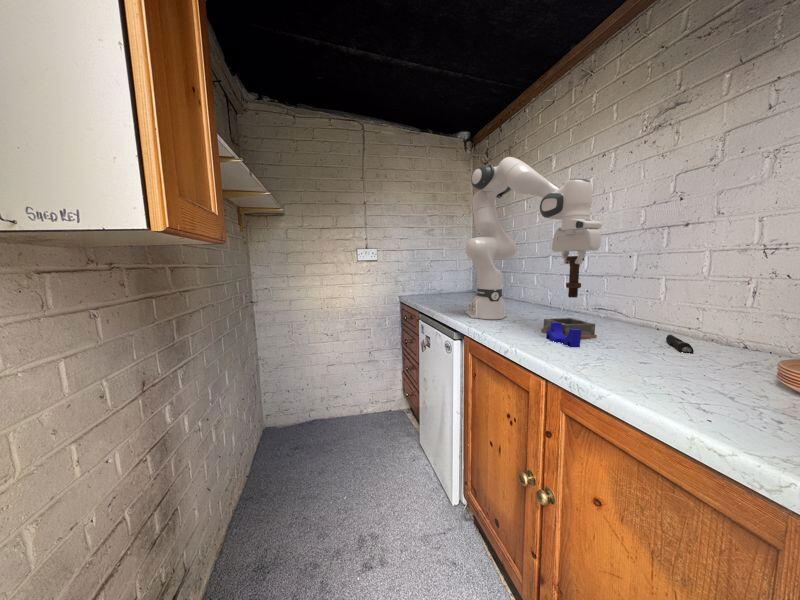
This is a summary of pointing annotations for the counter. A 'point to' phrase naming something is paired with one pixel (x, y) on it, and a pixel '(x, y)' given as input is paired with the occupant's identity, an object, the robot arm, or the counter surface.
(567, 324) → the bolt stand
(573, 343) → the cable clip
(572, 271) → the bolt
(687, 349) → the electric trimmer
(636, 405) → the counter surface
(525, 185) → the robot arm
